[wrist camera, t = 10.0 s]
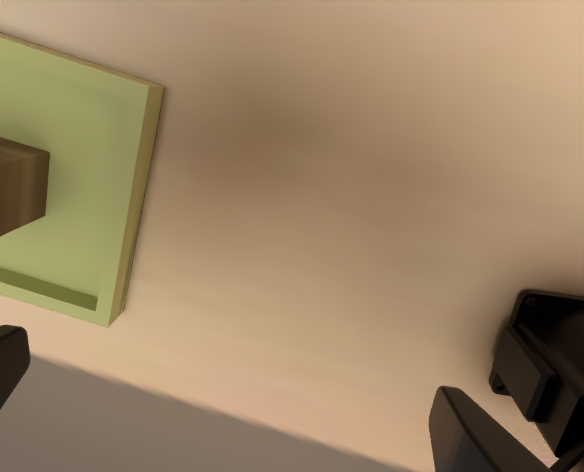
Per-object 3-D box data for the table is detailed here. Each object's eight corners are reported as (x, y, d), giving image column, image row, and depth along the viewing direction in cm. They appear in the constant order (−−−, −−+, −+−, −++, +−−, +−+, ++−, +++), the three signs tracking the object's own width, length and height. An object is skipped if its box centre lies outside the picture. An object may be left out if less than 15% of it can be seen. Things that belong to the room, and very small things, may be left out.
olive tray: (164, 86, 19) (149, 86, 18) (123, 310, 24) (107, 328, 22) (-104, -2, 19) (-145, -11, 17) (-93, 243, 24) (-126, 256, 22)
